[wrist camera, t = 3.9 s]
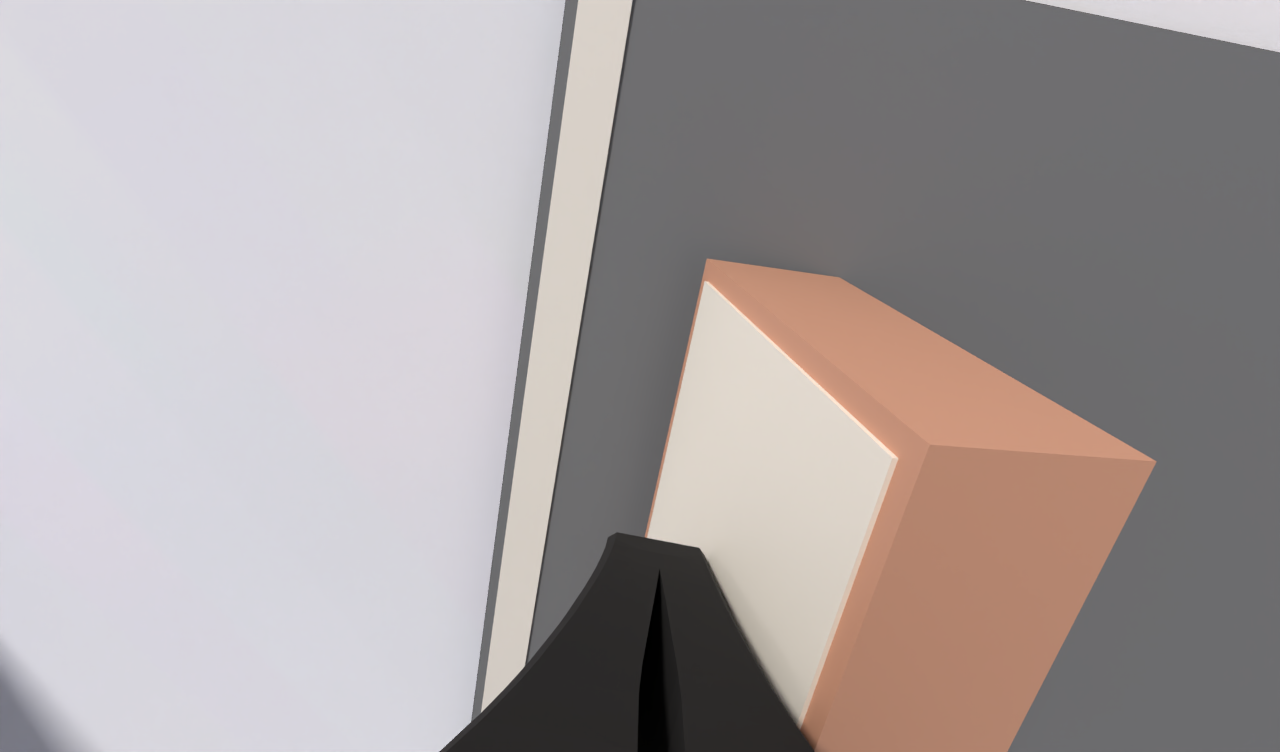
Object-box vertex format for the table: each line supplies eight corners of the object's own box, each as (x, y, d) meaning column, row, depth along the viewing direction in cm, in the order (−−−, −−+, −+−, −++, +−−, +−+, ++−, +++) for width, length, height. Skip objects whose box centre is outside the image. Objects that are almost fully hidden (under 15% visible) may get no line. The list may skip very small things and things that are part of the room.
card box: (608, 683, 14) (691, 1065, 9) (703, 258, 11) (922, 443, 6) (720, 680, 15) (861, 1035, 10) (838, 277, 12) (1156, 461, 6)
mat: (467, 770, 17) (461, 787, 17) (581, -84, 11) (576, -93, 10) (1263, 914, 17) (1278, 935, 17) (1846, 175, 11) (1896, 177, 10)
